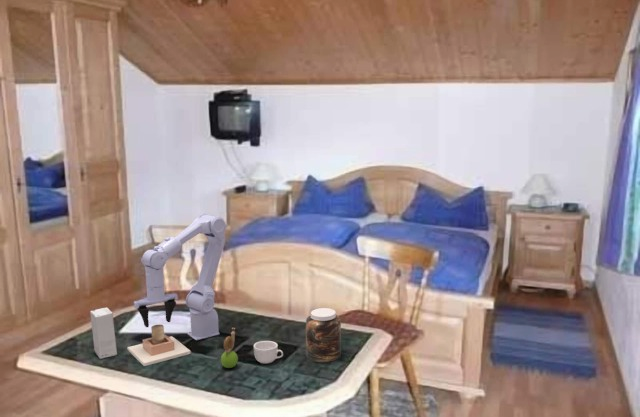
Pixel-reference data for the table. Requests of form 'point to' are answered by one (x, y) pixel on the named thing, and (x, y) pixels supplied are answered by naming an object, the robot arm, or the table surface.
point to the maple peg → (157, 334)
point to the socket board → (158, 351)
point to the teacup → (266, 351)
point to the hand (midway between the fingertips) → (157, 323)
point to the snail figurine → (229, 352)
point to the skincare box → (103, 332)
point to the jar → (323, 335)
